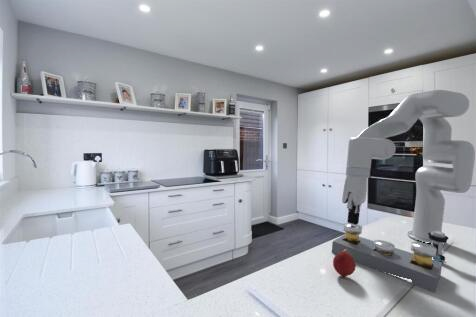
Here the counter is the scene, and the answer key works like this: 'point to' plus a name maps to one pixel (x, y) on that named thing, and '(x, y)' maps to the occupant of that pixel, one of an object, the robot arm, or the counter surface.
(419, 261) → the knob
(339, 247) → the knob panel
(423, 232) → the robot arm
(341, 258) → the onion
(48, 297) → the counter surface
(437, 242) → the push button
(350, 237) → the knob
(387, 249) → the knob middle
